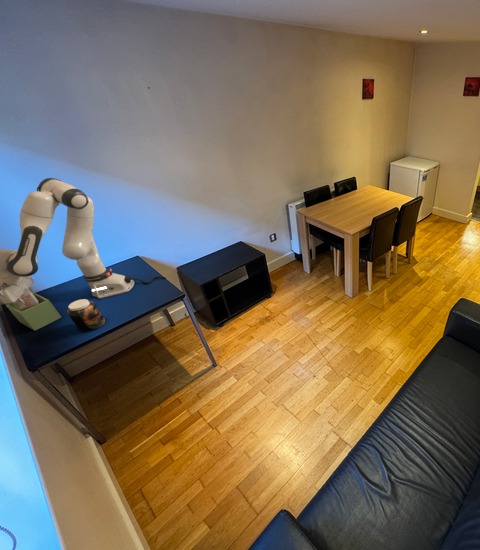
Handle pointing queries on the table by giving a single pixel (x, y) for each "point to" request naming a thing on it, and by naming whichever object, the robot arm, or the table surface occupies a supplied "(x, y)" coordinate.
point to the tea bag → (27, 300)
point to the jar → (85, 315)
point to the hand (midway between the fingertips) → (26, 299)
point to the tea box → (35, 313)
